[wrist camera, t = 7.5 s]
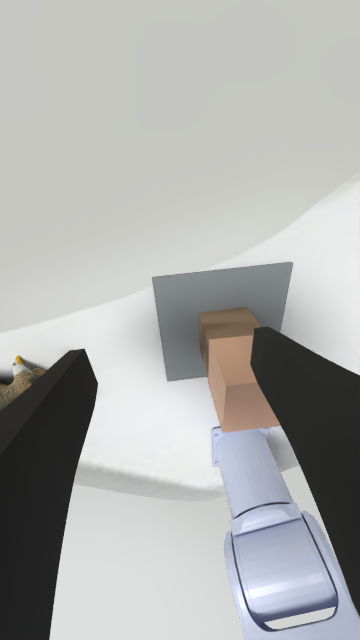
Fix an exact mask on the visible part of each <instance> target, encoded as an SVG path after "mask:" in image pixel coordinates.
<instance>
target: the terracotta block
mask: <svg viewBox="0 0 360 640" xmlns="http://www.w3.org/2000/svg"><path fill="white" fill-rule="evenodd" d="M252 343H253V335H249V336H239V337H229V338H219V339H210V340H209V372H208V383H209V387H210V391H211V394H212V398H213V401H214V405H215V409H216V412H217V416H218V419H219V423H220V426H221V430H222V433H227V432H234V431H242V430H250V429H258V428H265V427H273V426H281V425H280V423H279V421H278V420H277V418H276V416H275V414H274V412H273V411H272V409H271V407H270V405H269V403H268V402H267V400H266V398H265V396H264V394H263V393H262V391H261V389H260V387H259V385H258V383H257V381H256V378H255V376H254V373H253V370H252V368H251V365H250V360H251V352H252Z"/></svg>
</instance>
